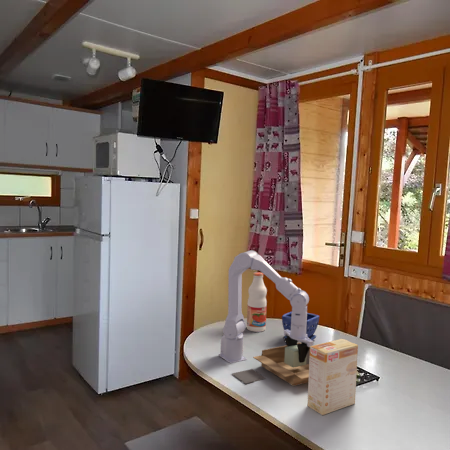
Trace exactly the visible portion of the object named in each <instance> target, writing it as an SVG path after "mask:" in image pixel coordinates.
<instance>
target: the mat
mask: <svg viewBox="0 0 450 450" xmlns="http://www.w3.org/2000/svg"><path fill="white" fill-rule="evenodd" d="M231 375H232V376H233V377H235V378H236V379H238V380H239V381H240V382H241V383H243V384H244V385H248V384H252V383H255V382H258V381H262V380H267V377H265V376H264V375H262V374H261V373H259V372H258V371H256V370H255V369H253V368H251V369H247V370H241V371H237V372H231Z"/></svg>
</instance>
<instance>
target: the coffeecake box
mask: <svg viewBox="0 0 450 450" xmlns="http://www.w3.org/2000/svg"><path fill="white" fill-rule="evenodd" d="M358 352H359V344H356V343H354V342H351V341H349V340H347V339H344V338H339V339H335V340H331V341H328V342H323V343H318V344H313V346H310V359H309V381H308V382H307V383H308V385H307V387H308V388H307V407H308V408H310V409H311V410H313V411H315V412H316V413H318V414H320V416H325V415H328V414H329V413H333V412H335V411H338V410H341V409H344V408H348V407H349V406H352V405H355V404H356V395H357V393H356V392H357V391H356V389H357V375H358V374H357V371H358V369H357V368H358Z"/></svg>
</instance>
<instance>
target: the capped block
mask: <svg viewBox="0 0 450 450" xmlns="http://www.w3.org/2000/svg"><path fill="white" fill-rule="evenodd" d="M309 359H310V349H309V351H308V353H307V356H306V359H305V362H302V363H300V362H299V351H298V347H297V345H294V346H289V347H285V359H284V363H286V364H287V365H289V366H291V367H293V368H294V367H298V366H302V365H307V364H309Z"/></svg>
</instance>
